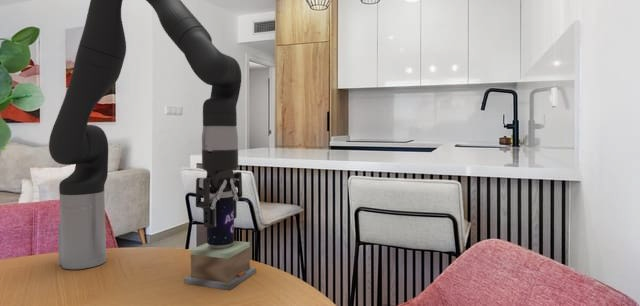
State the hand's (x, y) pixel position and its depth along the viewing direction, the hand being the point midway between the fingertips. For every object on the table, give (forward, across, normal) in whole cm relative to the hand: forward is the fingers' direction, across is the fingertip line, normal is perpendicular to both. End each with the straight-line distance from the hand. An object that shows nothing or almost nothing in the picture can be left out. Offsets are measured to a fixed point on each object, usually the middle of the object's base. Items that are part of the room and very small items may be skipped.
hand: (220, 222), depth 88 cm
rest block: (+12, 0, 0) cm, 12 cm away
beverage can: (+5, 0, 0) cm, 5 cm away
